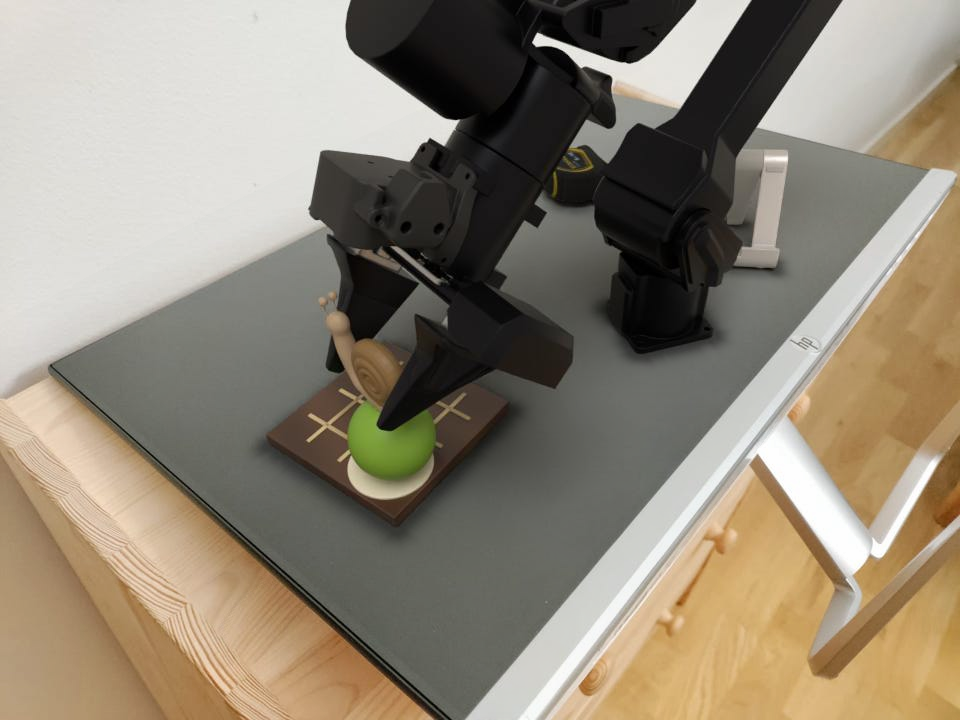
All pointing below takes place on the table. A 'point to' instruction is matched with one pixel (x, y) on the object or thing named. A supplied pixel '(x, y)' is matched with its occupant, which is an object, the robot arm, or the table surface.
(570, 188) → the tape measure
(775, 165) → the tablet stand
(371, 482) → the cream round disc
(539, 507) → the table surface
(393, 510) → the game board
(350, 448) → the snail figurine
